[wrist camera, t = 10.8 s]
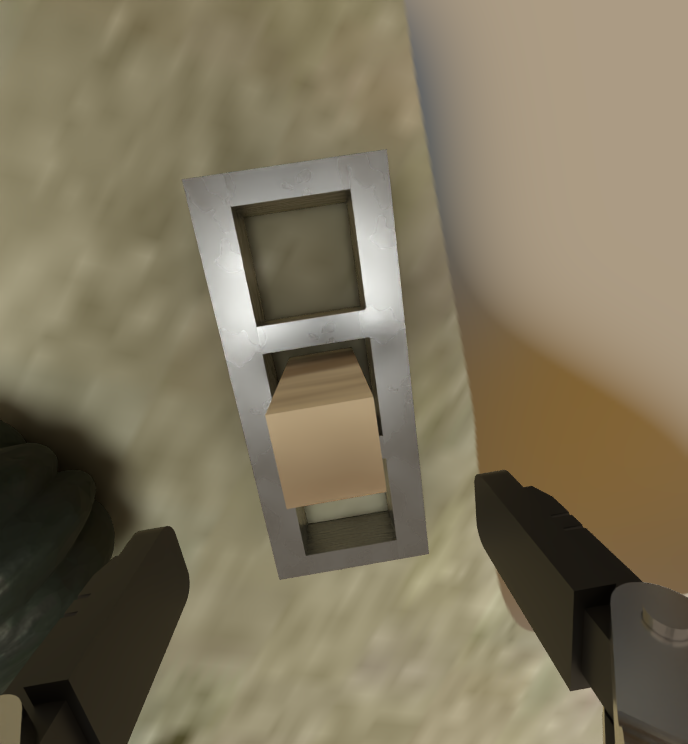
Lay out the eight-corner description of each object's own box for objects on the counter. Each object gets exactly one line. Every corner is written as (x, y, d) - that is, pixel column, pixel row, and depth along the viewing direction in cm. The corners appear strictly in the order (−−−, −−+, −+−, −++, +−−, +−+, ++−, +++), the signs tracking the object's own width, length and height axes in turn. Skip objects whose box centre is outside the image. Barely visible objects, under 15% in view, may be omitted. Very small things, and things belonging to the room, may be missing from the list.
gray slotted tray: (202, 194, 20) (181, 179, 17) (377, 168, 20) (386, 149, 17) (284, 546, 26) (279, 579, 23) (416, 523, 26) (428, 553, 23)
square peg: (289, 357, 22) (265, 415, 13) (351, 347, 22) (373, 396, 13) (301, 414, 23) (286, 509, 14) (360, 405, 23) (386, 491, 14)
